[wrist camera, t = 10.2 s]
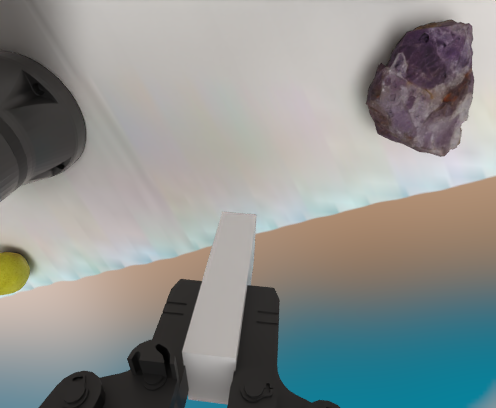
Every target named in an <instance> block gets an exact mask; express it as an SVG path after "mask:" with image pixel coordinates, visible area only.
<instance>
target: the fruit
mask: <svg viewBox="0 0 496 408" xmlns="http://www.w3.org/2000/svg"><path fill="white" fill-rule="evenodd" d="M29 274H30V268H29V265H28V263H27V261H26V259H25V258H24V257H23V256H22V255H20V254H18V253H12V252H2V253H0V295H5V294H10V293H14V292H16V291H18V290H20V289H21V288H22V287H23V286H24V285H25V283H26V281H27V280H28V277H29Z"/></svg>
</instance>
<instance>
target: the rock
mask: <svg viewBox="0 0 496 408" xmlns="http://www.w3.org/2000/svg"><path fill="white" fill-rule="evenodd" d="M472 41H473V35H472V26H471V25H470V24H469V23H468V24H464V23H462V22H460V23H457V22H455V21H453V20H447V21H444V22H438V23H435V22H434V23H430V24H427V25H425V26H419V27H417V28H415V29H414V30H413V31H409V32H407V33H406V34H405V36H404V37H403V38H402V39H401V40H400V42H399V43H398V44H397V46H396V48H395V49H394V50H393V52H392V55H391V58H390V60H389V62H388V64H387V66H384V65H383V64H382V63H381V64H380V65H379V66H378V69H377V72H376V75H375V78H374V80H373V82H372V84H371V85H370V87H369V90H368V96H367V102H366V104H367V105H368V107H369V111H370V115H371V117H372V119H373V120H374V122H375V126H376V130H377V133H378V134H379V135H381V136H383V137H385V138H388V139H389V140H392V141H395V142H399V143H402V144H404V145H406V146H408V147H410V148H412V149H415V150H417V151H419V152H426V153H430V154H434V155H437V156H440V157H441V156H445V155H446V154H447V153H448V152H449V150H450V149H455V148H457V145H458V144H460V138H461V131H462V130H461V128H460V127H461V124H462V123H463V122H464V121H466V120H467V118H468V111H469V108H470V105H471V102H472V99H473V97H472V94H473V85H474V76H473V72H472V55H473V51H472V47H471V44H472Z"/></svg>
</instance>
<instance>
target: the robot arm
mask: <svg viewBox="0 0 496 408" xmlns="http://www.w3.org/2000/svg"><path fill="white" fill-rule="evenodd" d="M85 141H86V131H85V124H84V120H83V117H82V114H81V111H80V109H79V107H78V105H77V103H76V101H75V100H74V98H73V97H72V95H71V94H70V92H69V91H68V90H67V88H66V87H65V86H64V85H63V84H62V83H61V81H60V80H59V79H58V78H57V77H55V76H54V75H53V74H52V73H51V72H50V71H48V70H47V69H46V68H44V67H43V66H42V65H40V64H38V63H37V62H35V61H33V60H31V59H29V58H27V57H25V56H22V55H20V54H16V53H12V52H7V51H0V202H1V201H2V200H3V199H5V198H6V197H7V196H8V195H10V194H11V193H12V192H13V191H15V190H16V189H17V188H18V187H20V186H21V185H25V184H28V183H32V182H35V181H38V180H42V179H45V178H48V177H52V176H55V175H57V174H59V173H61V172H63V171H65V170H66V169H67V168H68V167H70V166H71V165H72V164H73V163H74V162H75V161H76V160H77V159H78V158H79V157H80V155H81V154H82V152H83V149H84V146H85ZM255 230H256V215H255V214H243V213H232V212H222V214H221V217H220V221H219V224H218V228H217V231H216V235H215V238H214V242H213V245H212V249H211V253H210V256H209V260H208V263H207V266H206V270H205V273H204V277H203V280H202V281H195V280H186V279H180V280H179V281H178V282H177V284H175V286H174V287H173V288H172V289H171V291H170V294H169V296H168V299H167V303H166V304H165V307H164V310H163V314H162V315H161V318H160V320H159V323H158V325H157V328H156V331H155V333H154V336H153V339H152V340H149V341H146V342H144V343H141V344H139V345H138V346H137V347H136V348H134V349H133V350H132V352H131V353H130V355H129V356H128V358H127V360H128V363H129V366H130V370H129V371H127V372H123V373H120V374H115V375H111V376H106V377H102V378H99V377H98V376H97V375H95V374H94V373H93V372H88V371H81V372H76V373H73V374H71V375H70V376H68V377H66V378H64V379H63V380H62V381H61V382H60V383H59V384H58V385H57V386H56V387H55V388H54V390H53V391H52V392H51V393H50V394H49V396H48V397H47V398H46V399H45V401H44V402H43V403H42V405H41V406H40V407H39V408H184V407H185V403H186V399H187V395H188V397H189V399H190V400H198V401H205V402H214V403H221V404H228V406H227V408H340V407H339V406H338V405H336V404H334V403H332V402H330V401H324V400H318V401H315V402H313V403H311V402H309V401H307V400H305V399H303V398H301V397H299V396H297V395H295V394H294V393H292V392H290V391H289V390H288V389H287V388H286V387H285V386H284V384H283V383H282V381H281V380H280V378H279V375H278V371H277V351H278V325H279V298H278V295H277V293H276V291H275V289H274V288H269V287H259V286H250V285H251V277H252V270H253V262H254V248H255Z"/></svg>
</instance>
